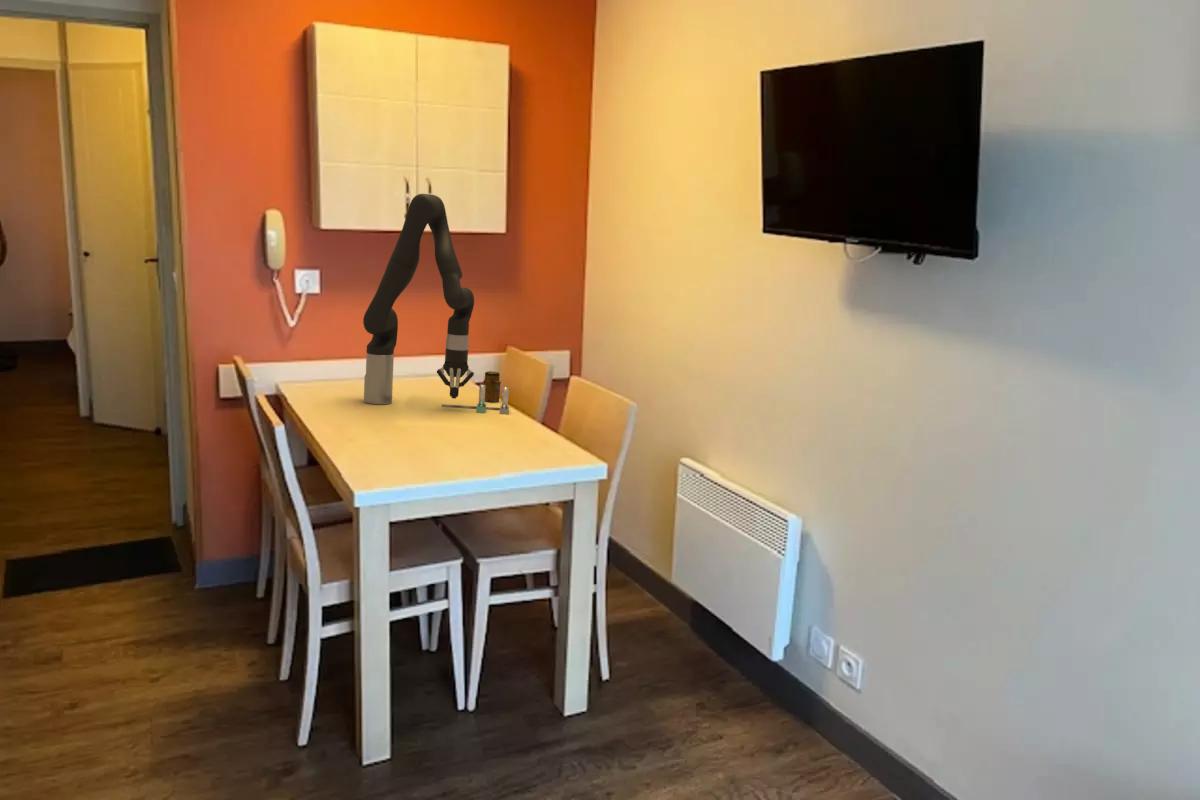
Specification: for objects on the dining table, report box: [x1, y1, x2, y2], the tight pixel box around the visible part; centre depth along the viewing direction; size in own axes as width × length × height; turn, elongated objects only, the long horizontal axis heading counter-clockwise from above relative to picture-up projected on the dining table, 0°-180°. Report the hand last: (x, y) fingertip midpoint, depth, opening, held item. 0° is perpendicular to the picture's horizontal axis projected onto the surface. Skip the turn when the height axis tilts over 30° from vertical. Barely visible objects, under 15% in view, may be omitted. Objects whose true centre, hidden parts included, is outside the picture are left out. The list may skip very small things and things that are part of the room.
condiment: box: [482, 370, 501, 404], centre depth 335 cm, size 7×8×12 cm
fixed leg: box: [499, 386, 510, 415], centre depth 318 cm, size 3×5×9 cm, turn 4°
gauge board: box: [441, 403, 500, 411], centre depth 317 cm, size 24×14×2 cm, turn 94°
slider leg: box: [475, 384, 487, 414], centre depth 318 cm, size 3×5×9 cm, turn 4°
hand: (453, 398), depth 317 cm, fingers closed
